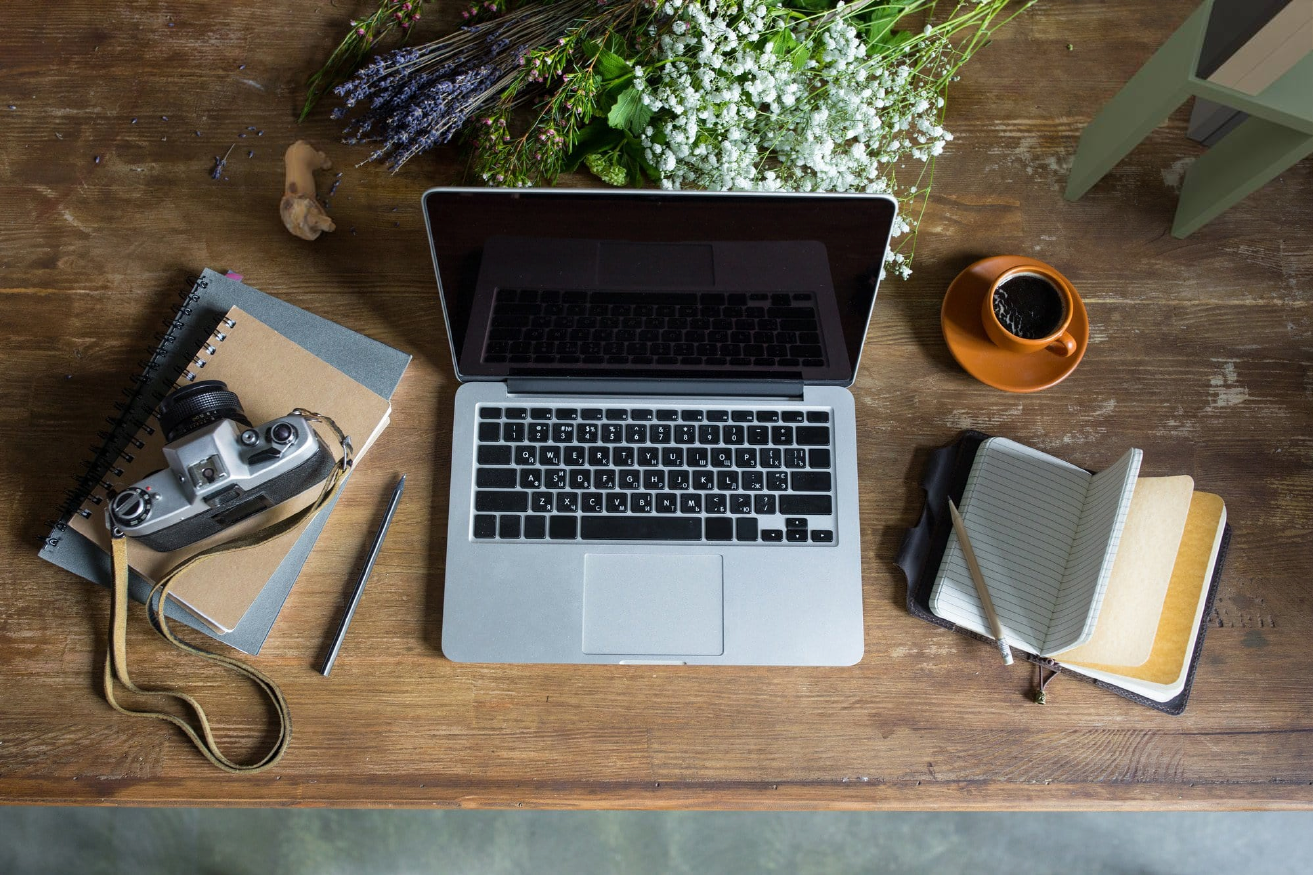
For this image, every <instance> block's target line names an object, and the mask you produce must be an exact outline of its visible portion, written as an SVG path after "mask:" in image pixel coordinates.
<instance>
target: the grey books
mask: <svg viewBox="0 0 1313 875" xmlns="http://www.w3.org/2000/svg"><path fill="white" fill-rule="evenodd" d="M1251 115H1252V114H1249V113H1246V112H1243V111H1240V110H1237V109H1234V108H1231V107H1228V106H1225V105H1222V104H1219V103H1216V102H1213V101H1210V100H1207V99H1204V98H1202V97H1199V96H1196V95H1195V98H1194V103H1193V107H1192V111H1191V115H1190V118H1189V122H1188V127H1187V131H1186V136H1185V137H1186V138H1188V139H1191V140H1192V141H1193V140H1194V141H1197V142H1199V143H1201V145H1202V146H1204V147H1208V148H1209V149H1210V148H1211V147H1212V146H1214V145H1215V144H1216V143H1217V142H1219V141H1220V140H1221V139H1222V138H1224V137H1225V136H1226V135H1227V134H1229V133H1230V132H1231V131H1232V130H1234V129H1235V128H1236V127H1237V126H1239V125H1240V124H1241V123H1242V122H1244V121H1245V120H1246V119H1248V118H1249V117H1250V116H1251Z"/></svg>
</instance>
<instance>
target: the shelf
mask: <svg viewBox="0 0 1313 875" xmlns="http://www.w3.org/2000/svg"><path fill="white" fill-rule="evenodd" d="M1213 2H1214V0H1204V1H1202V3H1201V4H1200V5H1199V6H1198V7H1197V8H1196V9H1195V10H1194V11H1193V12H1192V13H1191V14H1190V15H1189V17H1188V18H1187V19H1186V20H1184V22H1183V23H1182V24H1181V25H1180V26H1179V27H1178V29H1176V30H1175V31H1174V33H1172V35H1171V36H1170V37H1169V38H1168V39H1167V40H1166V41H1165V42H1164V43H1163V44H1162V45H1161V46H1160V47H1159V48H1158V49H1157V51H1155V52H1154V54H1153V55H1152V56H1151V57H1150V58H1148V60H1147V61H1146V62H1145V63H1144V64H1143V65H1142V66H1141V68H1139V69H1138V70H1137V71H1136V72H1135V74H1134V75H1133V76H1132V77H1130V79H1129V80H1128V81H1127V82H1126V83H1125V85H1124V86H1122V87H1121V89H1119V90H1118V92H1117V93H1115V95H1114V96H1113V97H1112V98H1111V99H1110V100H1109V101H1108V102H1107V104H1105V106H1103V108H1102V109H1101V110H1100V111H1099V112H1098V113H1097V114H1096V115H1095V116H1094V117H1093V118H1092V119H1091V120H1090V121H1089V122H1088V124H1087V125H1086V126H1084V128H1082V130H1081V134H1080V137H1079V141H1078V143H1077V147H1076V150H1075V154H1074V155H1075V156H1074V158H1073V162H1072V165H1071V169H1070V171H1069V172H1070V173H1069V176H1068V179H1067V183H1066V187H1065V190H1064V194H1063V197H1062V199H1064V200H1067V201H1070V202H1073V203H1076V202H1077V201H1078V200H1079V199H1080V198H1082V197H1083V196H1084V195H1085V194H1086V193H1087V192H1088V191H1089V190H1090V189H1091V188H1092V187H1094V186H1095V185H1096V184H1097V183H1098V182H1099V181H1100V180H1101V179H1102V178H1103V177H1104V176H1105V175H1107V174H1108V173H1109V172H1110V171H1111V170H1112V169H1113V168H1114V167H1115V166H1116V165H1117V164H1119V163H1120V162H1121V161H1122V160H1123V159H1125V157H1126V156H1128V154H1129V153H1131V152H1132V150H1134V149H1135V148H1136V147H1137V146H1138V145H1139V144H1140V143H1142V142H1143V141H1144V140H1145V139H1146V138H1147V137H1148V136H1149V135H1150V134H1151V133H1152V132H1154V131H1155V130H1156V129H1157V128H1158V127H1159V126H1160V125H1161V124H1162V123H1164V122H1165V121H1166V119H1168V118H1169V117H1170V116H1171V115H1172V114H1173V113H1174V112H1175V111H1177V110H1178V109H1179V108H1180V107H1181V106H1182V105H1183V104H1184V103H1185V102H1186V101H1187V100H1188V99H1190V98H1191V96H1195V97H1196V96H1199V97H1202V98H1204V99H1207V100H1210V101H1213V102H1216V103H1219V104H1222V105H1225V106H1228V107H1231V108H1234V109H1237V110H1240V111H1243V112H1246V113H1249V114H1252V115H1251V116H1250V117H1249V118H1248V119H1246V120H1245V121H1244V122H1242V123H1241V124H1240V125H1239V126H1237V127H1236V128H1235V129H1234V130H1232V131H1231V132H1230V133H1229V134H1227V135H1226V136H1225V137H1224V138H1222V139H1221V140H1220V141H1219V142H1217V143H1216V144H1215V145H1214V146H1212V147H1211V148H1210V147H1209V149H1207V150H1206V151H1205V152H1204V153H1202V154H1201V155H1200V156H1198V157H1197V158H1196V159H1195V160H1193V161H1192V162H1191V163H1190V164H1188V165H1187V166H1186V170H1185V175H1184V178H1183V183H1182V186H1181V191H1180V195H1179V199H1178V202H1177V207H1176V210H1175V215H1174V218H1173V224H1172V228H1171V231H1170V237H1173V238H1176V239H1178V240H1181V241H1182V240H1184V239H1185V238H1187V237H1188V236H1190V235H1191V234H1193V233H1194V232H1196V231H1197V230H1199V229H1200V228H1203V227H1204V226H1205V225H1206V224H1208V223H1209V222H1211V221H1213V220H1214V219H1215V218H1217V217H1219V216H1220V215H1221V214H1223V213H1224V212H1226V211H1228V210H1229V209H1230V208H1232V207H1233V206H1235V205H1236V204H1238V203H1239V202H1241V201H1242V200H1244V199H1245V198H1246V197H1248V196H1250V195H1252V194H1253V193H1254V192H1256V191H1257V190H1259V189H1260V188H1261V187H1263V186H1265V185H1266V184H1267V183H1269V182H1271V181H1272V180H1273V179H1275V178H1277V177H1278V176H1280V175H1281V174H1282V173H1284V172H1286V171H1287V170H1288V169H1290V168H1291V167H1293V166H1295V165H1296V164H1297V163H1299V162H1300V161H1302V160H1304V159H1305V158H1306V157H1308V156H1309V155H1311V154H1312V153H1313V50H1312V51H1310V52H1309V53H1308V54H1307V55H1305V56H1304V57H1303V58H1302V59H1301V60H1299V61H1298V62H1297V63H1296V64H1294V65H1293V66H1292V67H1291V68H1290V69H1288V70H1287V71H1286V72H1285V73H1284V74H1282V75H1281V76H1280V77H1279V78H1277V79H1276V80H1275V81H1274V82H1273V83H1271V84H1270V85H1269V86H1268V87H1266V88H1265V89H1264V90H1263V91H1262V92H1260V93H1259V94H1258V95H1257V96H1256V97H1254V96H1251V95H1248V94H1245V93H1242V92H1239V91H1236V90H1233V89H1231V88H1227V87H1224V86H1221V85H1218V84H1215V83H1212V82H1209V81H1207V80H1206V79H1207V78H1206V79H1205V80H1204V79H1201V78H1198V77H1195V75H1196V71H1197V67H1198V62H1199V58H1200V54H1201V50H1202V46H1203V42H1204V38H1205V34H1206V30H1207V26H1208V22H1209V18H1210V14H1211V10H1212V6H1213Z"/></svg>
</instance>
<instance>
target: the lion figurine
mask: <svg viewBox="0 0 1313 875" xmlns="http://www.w3.org/2000/svg"><path fill="white" fill-rule="evenodd" d="M284 163H285V164H284V165H285V185H284V186H285V187H284V190H285V192H284V196H283V197H282V198H281V201H280V204H279V215H280V217H281V218H280V219H281V221H282V222H283V224H284V226H285V228H286V229H287V231H288V232H290V233H291V234H292V235H294V236H297V237H299V238H301V239H303V240H307V241H314V240H316V238H318V237H319V236H320V235H321V233H322V232H327V233H333V232H334V231H335V230H336V229H337V226H336V225H335V223H333V221H332V219H331V217H328V216H327V214H326V212H325V210H324V209H323V208H322V207H321V206H320V204H319V202H318V201H317V200H316V197H317V195H316V194H317V193H316V184H315V179H314V176H313V171H314V170H319V169H320V168H322V169H323V170H326V171H329V170H330V169H331V168H332V167H333V163H332V161H331V160H330V158H329V157H328V156H327V155H326V153H324V152H323V151H316V150H315V149H314V148H313V147H312V146H311V145H310V144H309V143H308V142H307V141H305V140H303V139H302V140H301V139H299V140H297V141H296V142H295V143H294V144H292V145H290V146H289V147H288V148H287V150H286V153H285V155H284Z"/></svg>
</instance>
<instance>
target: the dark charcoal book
mask: <svg viewBox="0 0 1313 875" xmlns="http://www.w3.org/2000/svg"><path fill="white" fill-rule="evenodd" d="M1312 50H1313V0H1214V2H1213V6H1212V10H1211V14H1210V18H1209V22H1208V26H1207V30H1206V34H1205V38H1204V42H1203V46H1202V50H1201V54H1200V58H1199V62H1198V67H1197V71H1196V75H1195V77H1198V78H1201V79H1204V80H1205V79H1206V78H1207V79H1206V80H1207V81H1209V82H1212V83H1215V84H1218V85H1221V86H1224V87H1227V88H1231V89H1233V90H1236V91H1239V92H1242V93H1245V94H1248V95H1251V96H1254V97H1256V96H1257V95H1258V94H1259V93H1260V92H1262V91H1263V90H1264V89H1265V88H1266V87H1268V86H1269V85H1270V84H1271V83H1273V82H1274V81H1275V80H1276V79H1277V78H1279V77H1280V76H1281V75H1282V74H1284V73H1285V72H1286V71H1287V70H1288V69H1290V68H1291V67H1292V66H1293V65H1294V64H1296V63H1297V62H1298V61H1299V60H1301V59H1302V58H1303V57H1304V56H1305V55H1307V54H1308V53H1309V52H1310V51H1312Z"/></svg>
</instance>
